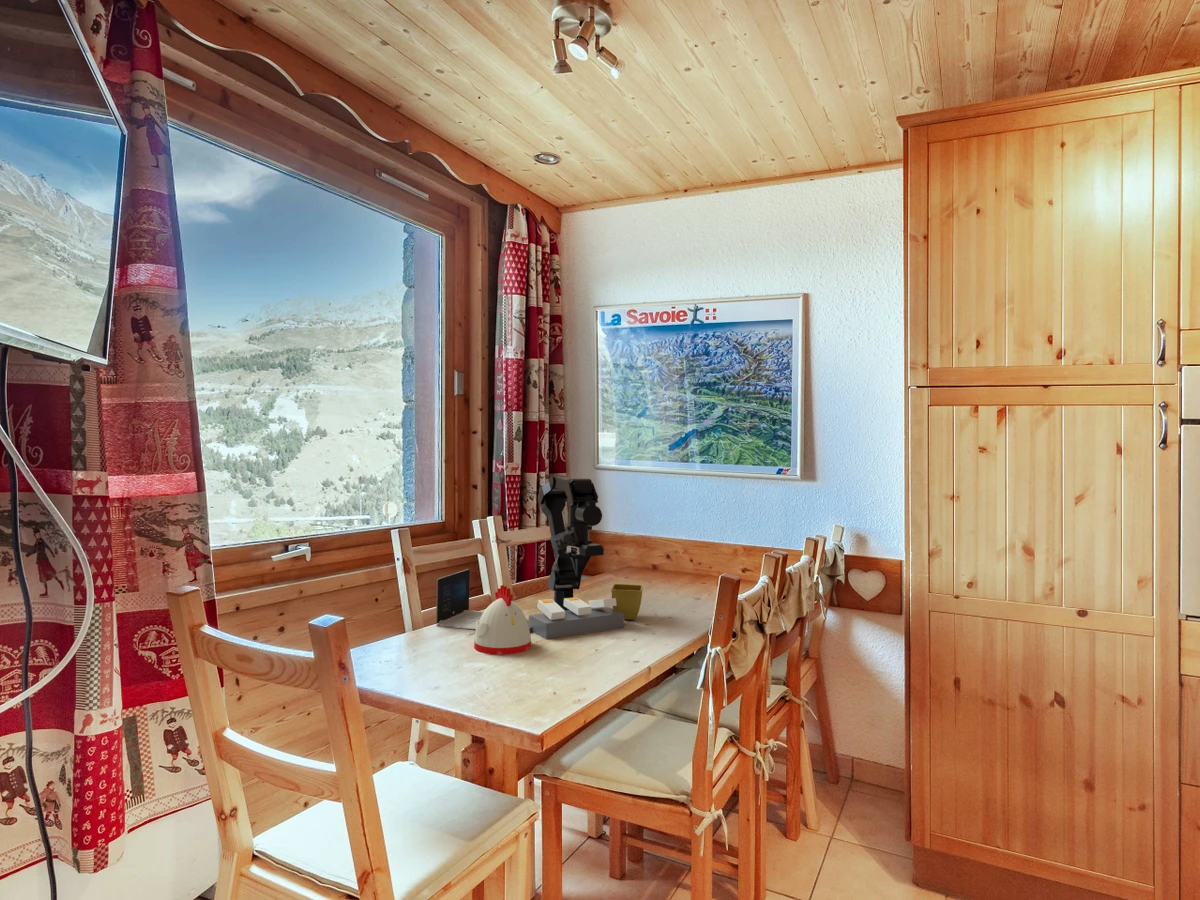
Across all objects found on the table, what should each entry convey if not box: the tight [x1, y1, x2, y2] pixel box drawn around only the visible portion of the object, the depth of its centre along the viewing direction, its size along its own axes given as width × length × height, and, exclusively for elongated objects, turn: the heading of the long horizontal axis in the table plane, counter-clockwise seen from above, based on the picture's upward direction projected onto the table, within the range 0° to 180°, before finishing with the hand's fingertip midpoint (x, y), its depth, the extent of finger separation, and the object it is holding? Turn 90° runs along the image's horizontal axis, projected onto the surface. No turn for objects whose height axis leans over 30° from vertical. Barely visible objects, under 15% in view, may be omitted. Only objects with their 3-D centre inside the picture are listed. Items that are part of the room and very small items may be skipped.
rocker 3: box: [588, 597, 617, 608], centre depth 198 cm, size 8×4×2 cm, turn 33°
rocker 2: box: [563, 596, 592, 615], centre depth 194 cm, size 8×4×2 cm, turn 32°
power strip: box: [528, 606, 625, 640], centre depth 192 cm, size 10×30×4 cm, turn 122°
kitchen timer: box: [473, 584, 532, 656], centre depth 176 cm, size 14×14×15 cm
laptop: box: [435, 568, 484, 631], centre depth 201 cm, size 18×12×13 cm
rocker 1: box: [536, 598, 565, 620], centre depth 190 cm, size 8×4×2 cm, turn 31°
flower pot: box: [611, 583, 644, 621], centre depth 207 cm, size 9×9×9 cm
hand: (578, 576), depth 206 cm, fingers closed
